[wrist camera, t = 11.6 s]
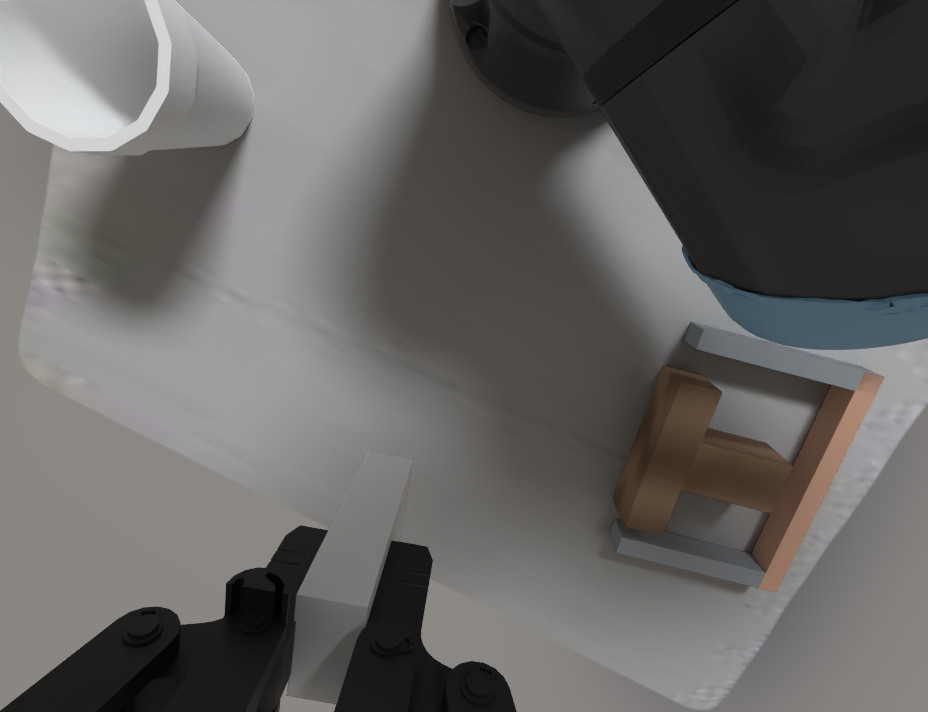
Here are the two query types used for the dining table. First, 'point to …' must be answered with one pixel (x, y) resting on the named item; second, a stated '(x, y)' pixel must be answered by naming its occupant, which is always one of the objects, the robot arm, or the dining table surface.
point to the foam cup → (119, 76)
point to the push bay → (806, 478)
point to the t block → (692, 457)
